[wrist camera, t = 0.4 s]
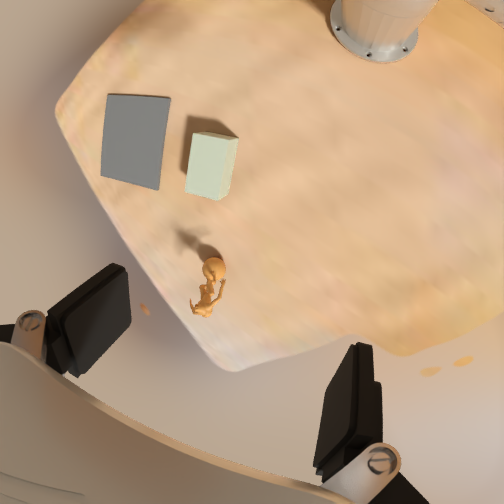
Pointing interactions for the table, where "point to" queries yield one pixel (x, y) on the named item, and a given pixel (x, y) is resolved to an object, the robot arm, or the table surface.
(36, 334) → the robot arm
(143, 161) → the mat
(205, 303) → the figurine
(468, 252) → the table surface
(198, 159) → the card box
